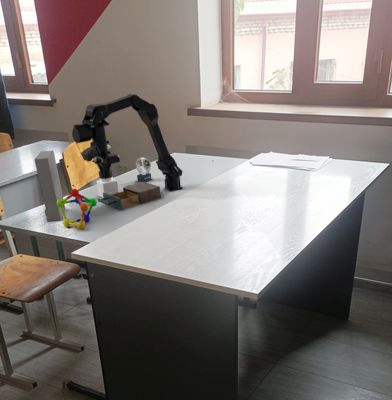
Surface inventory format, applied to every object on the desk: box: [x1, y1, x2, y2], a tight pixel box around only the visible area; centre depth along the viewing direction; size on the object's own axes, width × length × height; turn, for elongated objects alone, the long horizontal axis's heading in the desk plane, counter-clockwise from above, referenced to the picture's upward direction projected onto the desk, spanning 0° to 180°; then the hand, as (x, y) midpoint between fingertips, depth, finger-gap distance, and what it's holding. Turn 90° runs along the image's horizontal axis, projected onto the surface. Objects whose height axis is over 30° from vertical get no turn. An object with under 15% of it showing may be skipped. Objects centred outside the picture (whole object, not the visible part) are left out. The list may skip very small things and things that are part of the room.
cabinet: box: [122, 182, 162, 205], centre depth 228 cm, size 11×13×5 cm
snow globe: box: [135, 156, 152, 183], centre depth 250 cm, size 6×8×11 cm
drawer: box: [97, 190, 140, 210], centre depth 221 cm, size 16×13×5 cm
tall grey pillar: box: [34, 150, 67, 222], centre depth 208 cm, size 14×6×25 cm, turn 4°
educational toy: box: [57, 188, 98, 231], centre depth 200 cm, size 16×13×15 cm
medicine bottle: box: [96, 169, 119, 199], centre depth 231 cm, size 7×7×12 cm
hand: (105, 177), depth 213 cm, fingers closed
